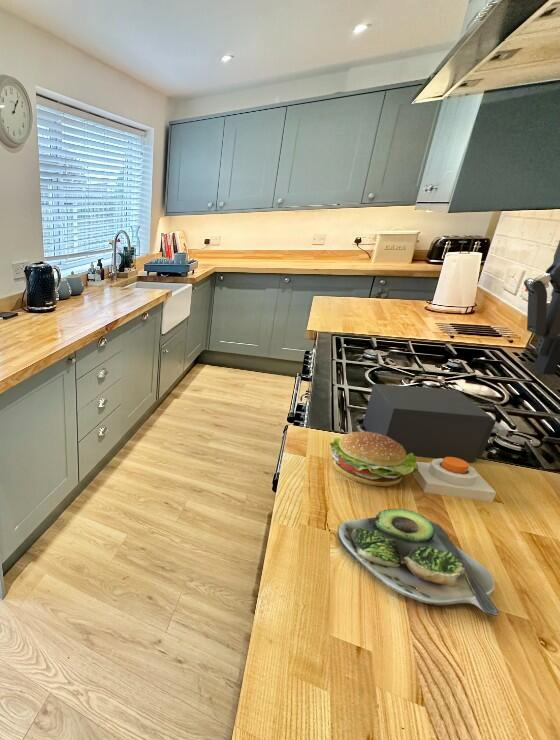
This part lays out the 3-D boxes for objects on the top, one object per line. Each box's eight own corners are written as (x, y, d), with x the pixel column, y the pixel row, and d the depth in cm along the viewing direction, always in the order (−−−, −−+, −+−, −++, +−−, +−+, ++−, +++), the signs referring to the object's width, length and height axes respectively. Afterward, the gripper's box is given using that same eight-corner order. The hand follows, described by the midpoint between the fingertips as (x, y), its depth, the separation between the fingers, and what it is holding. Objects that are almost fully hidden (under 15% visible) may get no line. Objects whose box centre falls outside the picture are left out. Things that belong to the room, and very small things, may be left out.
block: (469, 477, 83) (476, 460, 81) (492, 502, 76) (500, 484, 75) (408, 469, 86) (413, 453, 85) (424, 492, 80) (430, 475, 78)
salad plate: (547, 616, 55) (562, 591, 54) (422, 633, 54) (433, 608, 53) (416, 519, 73) (423, 497, 72) (320, 530, 72) (325, 508, 70)
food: (335, 486, 83) (344, 452, 80) (321, 450, 95) (328, 419, 92) (421, 499, 78) (434, 463, 75) (394, 459, 90) (404, 426, 87)
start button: (460, 465, 81) (463, 458, 80) (470, 476, 78) (473, 468, 77) (437, 463, 82) (440, 455, 81) (445, 473, 79) (448, 465, 78)
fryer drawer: (475, 432, 96) (488, 397, 93) (508, 462, 85) (524, 423, 82) (376, 422, 103) (385, 389, 99) (395, 448, 92) (406, 412, 88)
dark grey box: (442, 431, 99) (457, 389, 95) (473, 463, 87) (492, 416, 83) (362, 423, 105) (373, 383, 100) (381, 452, 93) (394, 408, 88)
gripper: (559, 238, 65) (508, 377, 74) (679, 233, 61) (610, 381, 70) (528, 235, 72) (484, 363, 81) (634, 230, 67) (576, 366, 76)
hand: (543, 371), depth 75 cm, fingers closed
